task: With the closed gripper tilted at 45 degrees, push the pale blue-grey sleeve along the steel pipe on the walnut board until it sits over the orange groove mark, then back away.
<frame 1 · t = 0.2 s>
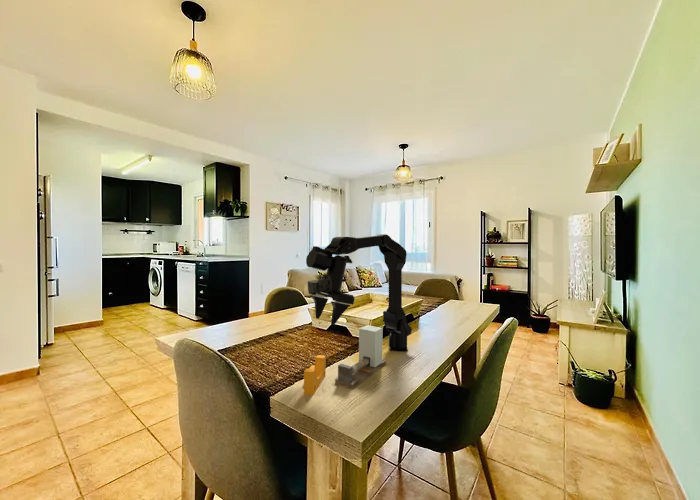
hand: (324, 321, 97), 16 cm above the table, tool pointing down, fingers open, 9 cm apart
pipe rig: (362, 372, 95), on the table
pipe clamp: (312, 385, 87), on the table
sleeve: (370, 345, 99), point 7 cm above the table, slide at 0.0 cm
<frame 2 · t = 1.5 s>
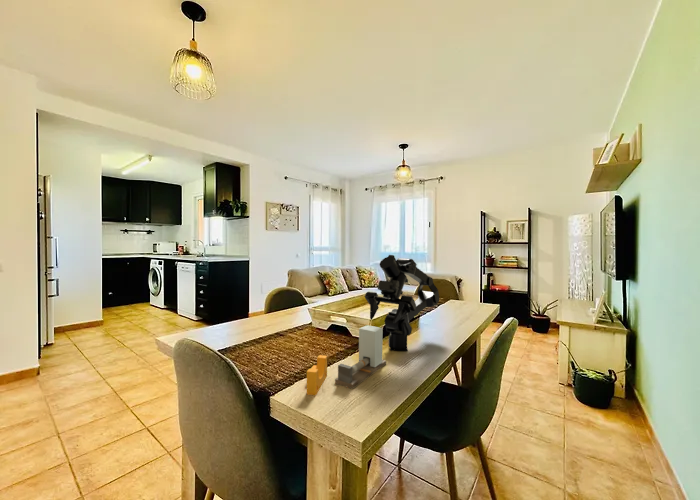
hand: (382, 320, 106), 14 cm above the table, tool tilted 45°, fingers open, 9 cm apart
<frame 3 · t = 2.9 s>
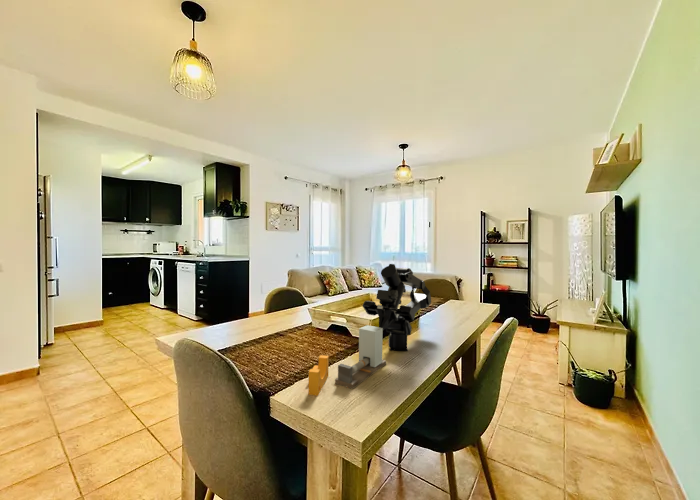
hand: (380, 330, 104), 11 cm above the table, tool tilted 45°, fingers closed
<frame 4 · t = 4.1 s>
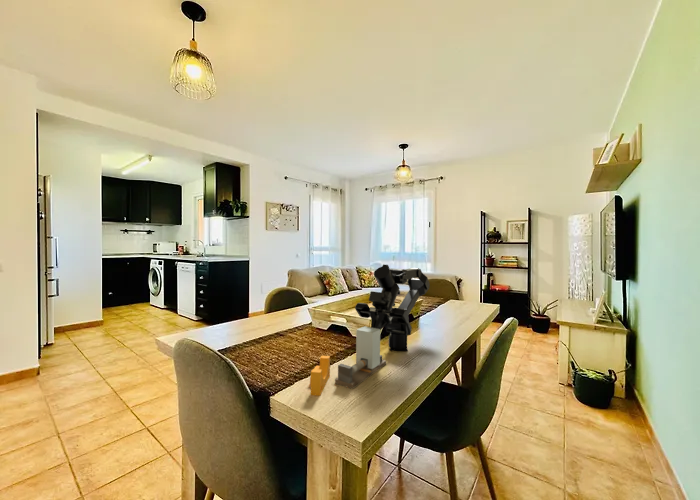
hand: (372, 334, 100), 11 cm above the table, tool tilted 45°, fingers closed, pressing on sleeve
sleeve: (368, 346, 97), point 7 cm above the table, slide at 1.6 cm, touching gripper
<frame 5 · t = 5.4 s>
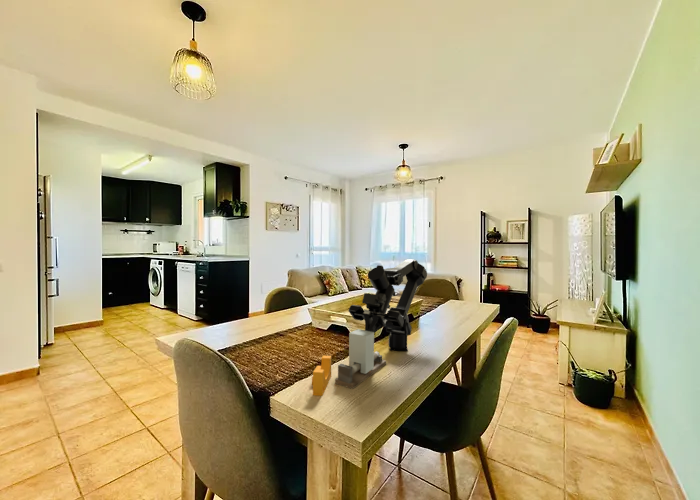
hand: (366, 337, 96), 11 cm above the table, tool tilted 45°, fingers closed, pressing on sleeve
sleeve: (361, 350, 94), point 7 cm above the table, slide at 5.8 cm, touching gripper
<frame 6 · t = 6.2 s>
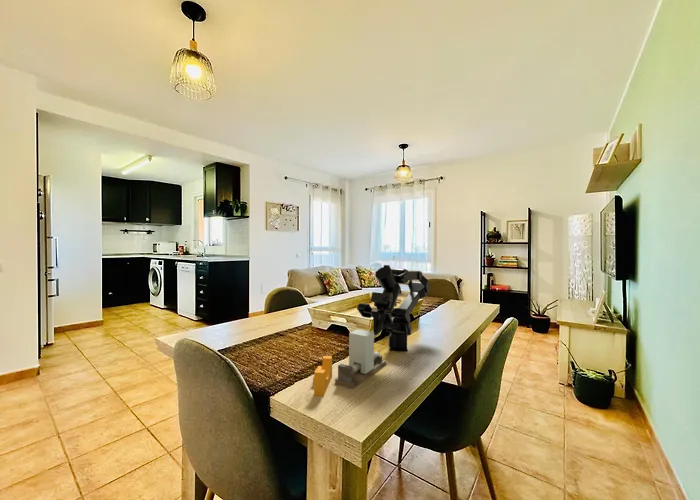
hand: (374, 334, 101), 10 cm above the table, tool tilted 45°, fingers closed
sleeve: (361, 350, 94), point 7 cm above the table, slide at 5.8 cm
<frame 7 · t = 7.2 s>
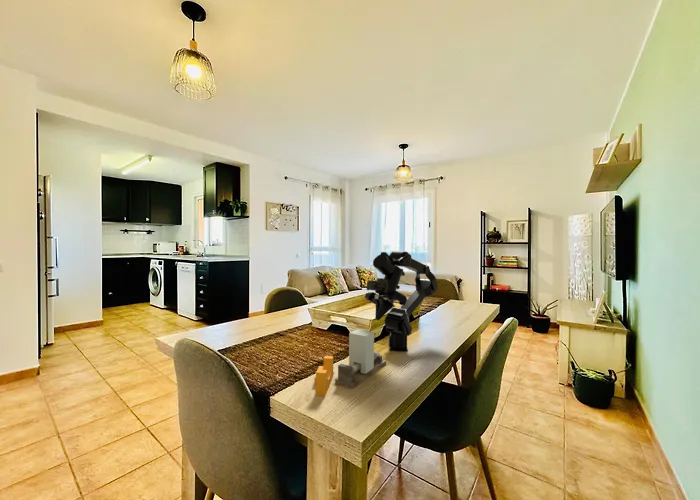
hand: (377, 319, 107), 14 cm above the table, tool tilted 30°, fingers closed
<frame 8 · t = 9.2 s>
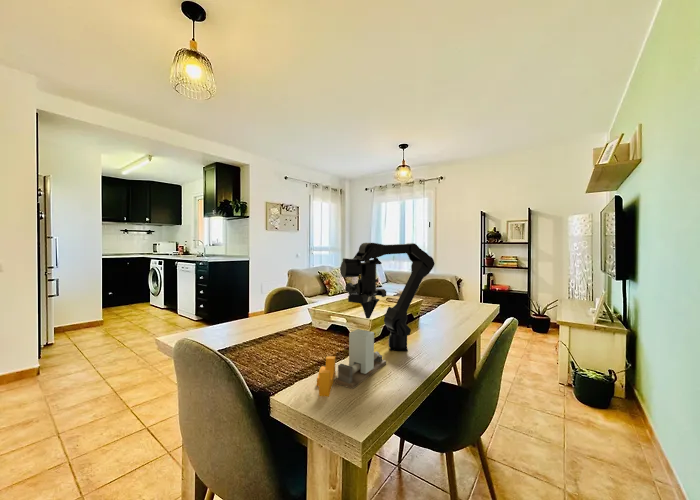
hand: (367, 318, 112), 13 cm above the table, tool pointing down, fingers closed
at the end: sleeve slide at 5.8 cm; pipe clamp moved 3.9 cm from its start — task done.
